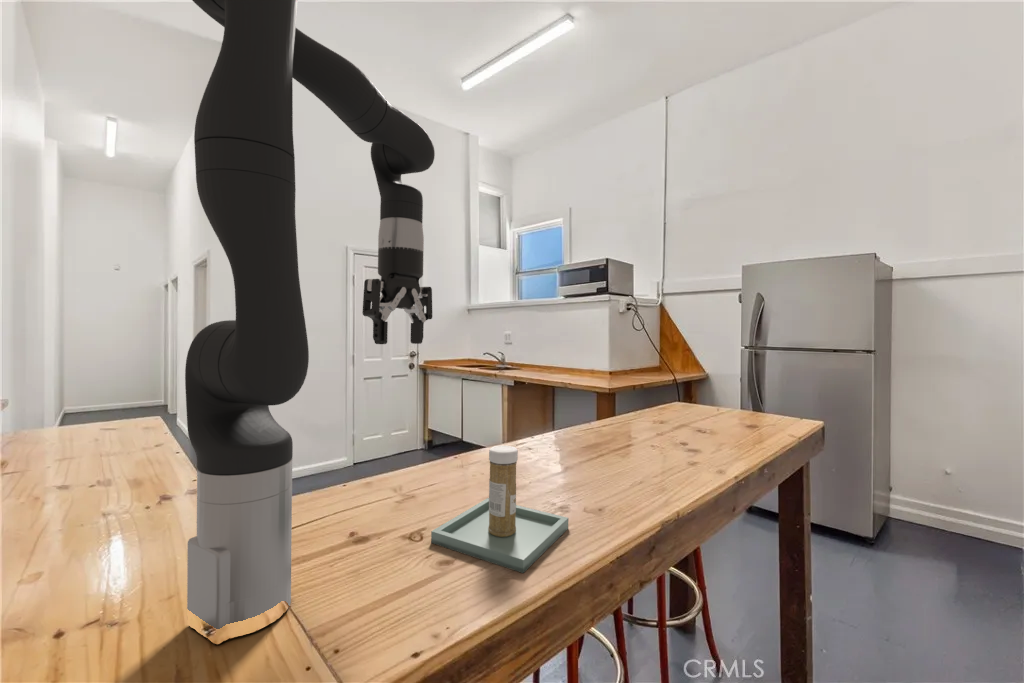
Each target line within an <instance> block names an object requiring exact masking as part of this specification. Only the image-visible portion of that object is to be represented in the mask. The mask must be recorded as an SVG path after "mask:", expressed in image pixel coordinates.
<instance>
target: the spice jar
mask: <svg viewBox="0 0 1024 683" xmlns="http://www.w3.org/2000/svg"><path fill="white" fill-rule="evenodd" d="M518 458H519V454H518V448H516V447H515V446H512V445H511V446H510V445H495V446H492V447H490V448H489V452H488V460H489V479H488V480H489V484H488V485H489V486H488V488H489V489H488V498H489V527H488V531H489V533H490V534H492V535H494V536H498V537H507V536H511V535H512V534H514V533H515V532H516V525H515V523H516V518H515V517H516V505H517V462H518Z"/></svg>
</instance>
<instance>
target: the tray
mask: <svg viewBox="0 0 1024 683" xmlns="http://www.w3.org/2000/svg"><path fill="white" fill-rule="evenodd" d="M515 518H516V523H515V525H516V532H515V533H514V534H512V535H511V536H507V537H498V536H494V535H492V534H490V533H489V531H488V527H489V497H487V498H485V499H483V500H482V501H480V502H478V503H477V504H475V505H474V506H472V507H470V508H468V509H466V510H465V511H463V512H462V513H460V514H458V515H457V516H455V517H453V518H451V519H450V520H448V521H447V522H444V523H443V524H441V525H439V526H438V527H436V528H434V529H433V530H431V534H430V537H431V538H430V541H431V542H430V543H431V544H434V545H437V546H439V547H442V548H445V549H449V550H452V551H454V552H457V553H461V554H464V555H467V556H470V557H472V558H476V559H479V560H482V561H485V562H489V563H490V564H495V565H497V566H500V567H504V568H506V569H510V570H512V571H515V572H519V573H522V574H524V573H525V572H526V571H527V570H528V569H529V568H530V567H531V566H533V564H534V563H535V562H537V560H538V559H539V558H540V557H541V556H542V555H543V554H544V553H545V552H546V551H547V550H549V548H551V546H552V545H554V543H555V542H556V541H557V540H558V539H559V538H560V537H561V536H562V535H564V533H566V531H567V530H568V529H569V517H567V516H563V515H559V514H556V513H555V514H554V513H550V512H547V511H541V510H537V509H534V508H532V507H531V508H530V507H526V506H522V505H518V504H516V517H515Z"/></svg>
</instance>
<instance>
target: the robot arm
mask: <svg viewBox="0 0 1024 683" xmlns="http://www.w3.org/2000/svg"><path fill="white" fill-rule="evenodd" d="M191 1H192V2H193V3H194V4H195V5H196V6H197V7H199V9H201V10H202V11H203V12H204V13H205V14H206V15H208V16H209V17H210V18H211V19H213V20H214V21H215V22H217V23H218V24H220V25H221V26H222V27H223V28H224V30H223V38H222V42H221V46H220V50H219V53H218V56H217V59H216V62H215V65H214V66H213V69H212V72H211V75H210V77H209V80H208V81H207V84H206V86H205V90H204V92H203V95H202V98H201V100H200V104H199V106H198V111H197V115H196V118H195V125H194V132H193V134H194V135H193V136H194V137H193V138H194V140H193V141H194V160H195V161H194V163H195V181H196V190H197V194H198V197H199V201H200V204H201V206H202V209H203V212H204V213H205V216H206V218H207V220H208V222H209V223H210V226H211V228H212V230H213V232H214V233H215V236H216V237H217V240H218V241H219V243H220V245H221V247H222V249H223V251H224V253H225V255H226V258H227V260H228V262H229V265H230V269H231V273H232V278H233V284H234V285H233V286H234V299H235V300H234V301H235V303H234V304H235V319H234V320H233V319H229V320H221V321H217V322H214V323H210V324H208V325H207V326H205V327H203V329H201V330H199V332H198V333H197V334H196V335H195V336H194V338H193V340H192V341H191V343H190V346H189V349H188V351H187V354H186V355H187V356H186V360H185V361H186V362H185V371H184V372H185V373H184V376H185V377H184V378H185V379H184V382H185V385H184V386H185V405H186V406H185V407H186V423H187V424H186V425H187V426H186V427H187V435H188V439H189V443H190V444H191V446H192V448H193V450H194V452H195V456H196V536H194V537H191V538H189V539H188V540H187V559H186V560H187V561H186V562H187V580H186V581H187V583H186V584H187V585H186V586H187V587H186V588H187V589H186V592H187V593H186V598H187V600H186V601H187V604H186V610H187V609H188V610H189V611H191V612H192V613H193V614H195V615H196V616H198V617H199V618H200V619H202V620H203V621H205V622H206V623H208V624H209V625H211V626H213V627H214V628H216V629H220V628H222V627H223V626H225V625H226V624H230V623H234V622H238V621H243V620H246V619H248V618H252V617H255V616H257V615H260V614H261V613H264V612H265V611H267V610H269V609H271V608H273V607H274V606H276V605H277V604H278V603H280V602H281V601H286V602H287V603H288V605H289V606H290V607H291V603H292V544H293V543H292V538H293V537H292V535H293V533H292V530H293V528H292V527H293V526H292V522H293V517H292V516H293V513H292V512H293V454H294V453H293V446H294V445H293V438H292V435H291V434H290V432H288V430H286V429H285V428H284V427H283V426H281V425H280V424H279V423H278V421H276V419H275V418H274V417H273V415H272V413H271V411H270V409H269V408H270V407H271V406H278V405H282V404H285V403H288V402H289V401H290V400H292V399H293V398H295V396H296V395H297V394H298V393H299V392H300V391H301V388H302V387H303V385H304V383H305V381H306V379H307V378H306V377H307V375H308V369H309V363H310V362H309V358H310V356H309V354H310V353H309V342H308V341H309V340H308V333H307V327H306V319H305V318H306V317H305V311H304V306H303V305H304V304H303V298H302V297H303V296H302V292H301V291H302V290H301V283H300V282H301V280H300V275H299V274H300V273H299V258H298V256H299V255H298V242H297V241H298V240H297V239H298V238H297V224H296V223H297V222H296V220H297V219H296V169H295V168H296V163H295V162H296V161H295V159H296V158H295V148H294V147H295V145H294V133H293V132H294V131H293V129H294V128H293V127H294V126H293V124H294V123H293V120H294V118H293V116H294V115H293V114H294V113H293V112H294V111H293V104H294V103H293V96H294V95H293V79H294V80H295V81H296V82H298V84H300V85H301V86H303V88H305V89H307V90H308V91H309V92H310V93H311V94H312V95H314V96H315V97H316V98H317V99H318V100H320V101H321V102H322V103H323V104H324V105H325V106H326V107H327V108H328V109H330V111H331V112H333V114H334V115H336V117H338V119H340V120H341V122H343V124H345V126H347V127H348V129H349V130H350V131H351V132H353V133H354V135H356V137H358V138H359V139H361V140H362V141H364V142H367V143H369V144H370V143H371V146H370V159H371V164H372V168H373V170H374V175H375V179H376V184H377V187H378V192H379V195H380V205H379V208H380V211H379V213H380V214H379V217H380V218H379V220H380V221H379V228H378V235H377V239H378V240H377V241H378V244H377V246H378V247H377V249H378V250H377V252H378V253H377V255H378V256H377V273H378V275H379V276H380V278H368V279H365V280H364V285H363V297H362V299H363V301H362V313H361V314H362V315H363V316H364V317H367V318H370V319H371V320H372V324H373V325H372V331H373V332H372V338H373V341H374V344H376V345H386V344H387V343H388V327H389V326H388V325H389V324H388V321H387V320H388V318H389V316H390V315H391V313H392V312H394V311H395V310H396V309H400V310H404V312H405V313H406V314H408V316H409V318H410V320H411V322H410V343H411V344H414V345H416V344H417V345H418V344H419V345H420V344H422V343H423V341H424V340H423V339H424V324H425V323H426V322H427V321H428V320H432V319H433V288H432V287H431V286H420V279H421V278H423V276H424V249H425V248H424V245H425V244H424V241H425V240H424V239H425V238H424V237H425V235H424V229H423V228H424V227H423V226H424V225H423V218H424V217H423V212H424V210H423V208H424V199H423V194H422V191H420V189H418V188H417V187H416V186H413V185H410V184H405V183H403V182H402V176H403V175H408V174H416V173H422V172H425V171H427V170H429V169H430V168H432V167H431V166H432V165H433V164H434V161H435V154H436V153H435V145H434V144H433V140H432V139H431V137H430V135H429V134H428V132H427V131H426V130H425V129H424V127H422V125H420V124H419V123H418V122H416V121H415V119H412V118H411V117H410V116H408V115H407V114H405V112H403V111H402V110H400V109H399V108H397V107H395V106H394V105H392V104H391V103H390V102H389V101H388V100H387V99H386V97H385V96H384V95H383V94H382V92H381V91H380V90H379V89H378V88H377V87H376V85H375V84H374V83H373V81H371V79H370V78H369V77H368V76H367V75H366V74H365V72H363V71H362V70H361V69H360V68H359V67H357V66H356V65H355V64H354V63H353V62H351V61H350V60H348V59H347V58H345V57H344V56H342V55H341V54H340V53H337V52H336V51H334V50H333V49H330V48H329V47H327V46H325V45H323V44H322V43H320V42H318V41H316V40H315V39H313V38H312V37H310V36H309V35H307V34H305V33H304V32H302V31H301V30H300V29H298V28H297V27H296V25H297V14H298V12H297V11H298V0H191ZM425 308H426V309H425ZM269 406H270V407H269Z"/></svg>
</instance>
